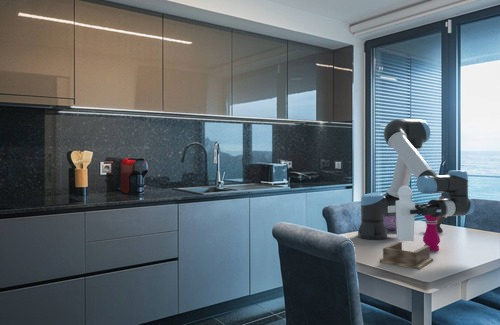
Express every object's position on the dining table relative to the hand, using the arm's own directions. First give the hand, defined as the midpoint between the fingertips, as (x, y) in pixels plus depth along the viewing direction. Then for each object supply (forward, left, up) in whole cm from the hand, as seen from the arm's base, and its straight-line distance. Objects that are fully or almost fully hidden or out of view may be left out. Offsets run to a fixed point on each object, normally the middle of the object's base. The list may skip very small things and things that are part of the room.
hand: (395, 210), depth 159 cm
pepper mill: (+3, +34, -22) cm, 40 cm away
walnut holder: (+2, +6, -21) cm, 22 cm away
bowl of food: (-30, +73, -22) cm, 81 cm away
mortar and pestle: (-9, +81, -22) cm, 84 cm away
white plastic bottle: (+2, +4, -12) cm, 13 cm away
